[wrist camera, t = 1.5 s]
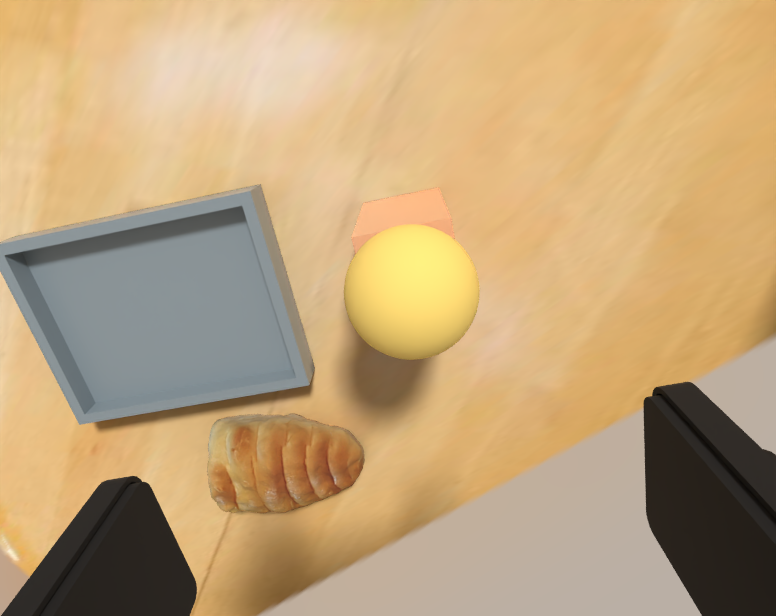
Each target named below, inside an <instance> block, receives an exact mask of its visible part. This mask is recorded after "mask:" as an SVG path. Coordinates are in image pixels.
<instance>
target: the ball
mask: <svg viewBox="0 0 776 616" xmlns="http://www.w3.org/2000/svg"><path fill="white" fill-rule="evenodd" d="M479 292H480V291H479V281H478V277H477V272H476V269H475V267H474V264H473V262H472V260H471V258H470V257H469V255H468V254H467V252H466V251H465V250H464V248H463V247H462V246H461V245H460V244H459V243H458V242H457V241H456V240H454V239H453V238H452V237H451V236H449V235H447V234H446V233H444V232H442V231H440V230H437V229H435V228H432V227H428V226H425V225H417V224H407V225H399V226H395V227H391V228H389V229H386V230H384V231H382V232H380V233H378V234H376V235H375V236H373V237H372V238H371V239H369V240H368V241H367V242H366V243H365V244H364V245H363V246H362V247H361V248H360V249H359V250H358V252H357V253H356V254H355V256H354V258H353V260H352V261H351V263H350V266H349V268H348V271H347V274H346V278H345V286H344V300H345V306H346V310H347V313H348V316H349V319H350V321H351V323H352V325H353V327H354V328H355V330H356V331H357V332H358V334H359V335H360V336H361V337H362V338H363V340H364V341H366V342H367V343H368V344H369V345H370V346H372V347H373V348H375V349H376V350H378V351H380V352H382V353H384V354H386V355H389V356H391V357H395V358H399V359H407V360H416V359H424V358H428V357H432V356H435V355H437V354H440V353H442V352H444V351H446V350H447V349H449V348H450V347H452V346H453V345H454V344H455V343H457V342H458V341H459V340H460V339H461V338H462V337H463V336H464V334H465V333H466V331H467V330H468V329H469V327H470V325H471V323H472V322H473V320H474V317H475V314H476V312H477V307H478V303H479Z"/></svg>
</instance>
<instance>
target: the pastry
mask: <svg viewBox="0 0 776 616" xmlns="http://www.w3.org/2000/svg"><path fill="white" fill-rule="evenodd" d="M208 451H209V460H208V466H207V472H208V482H209V488H210V492H211V497H212V498H213V500H215V501H216V502H217V505H218V506H219V507H220V508H221V509H222V510H223V511H225V512H231V513H235V512H237V511H248V512H257V513H266V512H270V511H273V512H278V513H282V512H287V511H289V510H293V509H296V508H299V507H303V506H307V505H309V504H311V503H312V502H314V501H319V500H323V499H324V498H326V497H328V496H330V495H333V494H337V493H339V492H340V491H341V490H343V489H345V488H347V487H350V486H352V485H353V484H354V482H355V480H356V479H357V478H358V476H359V474H360V472H361V470H362V468H363V464H364V451H363V448H362V446H361V445H360V443H359V442H358V441H357V439H356V438H355V437H354V436H353V435H352V434H351V433H350V432H349V431H348V430H346V429H343V428H341V427H338V426H329V425H325V424H322V423H319V422H317V421H313V420H309V419H306V418H305V417H303V416H300V415H297V414H289V415H286V416H283V415H261V414H254V415H239V416H233V417H226V418H223V419H219V420H217V421H216V422H215V423H214V424H213V426H212V428H211V432H210V437H209V443H208Z"/></svg>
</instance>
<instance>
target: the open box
mask: <svg viewBox="0 0 776 616" xmlns="http://www.w3.org/2000/svg"><path fill="white" fill-rule="evenodd" d="M407 224H417V225H425V226H428V227H432V228H435V229H437V230H440V231H442V232H444V233H446V234H447V235H449V236H451V237H452V238H453V239H454V240H455V238H454V232H453V226H452V219H451V216H450V213H449V211H448V209H447V206H446V204H445V201H444V199H443V196H442V194H441V192H440V189H439V188H434V189H429V190H424V191H419V192H414V193H410V194H405V195H400V196H395V197H390V198H385V199H380V200H375V201H370V202H366V203H363V205H362V208H361V211H360V214H359V217H358V220H357V223H356V226H355V228H354V231H353V234H352V237H351V238H352V242H353V246H354V250H355V254H356V253H357V252H358V250H359V249H360V248H361V247H362V246H363V245H364V244H365V243H366V242H367V241H368V240H369V239H371V238H372V237H373V236H375V235H376V234H378V233H380V232H382V231H384V230H386V229H389V228H391V227H395V226H399V225H407Z"/></svg>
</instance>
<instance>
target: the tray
mask: <svg viewBox="0 0 776 616" xmlns="http://www.w3.org/2000/svg"><path fill="white" fill-rule="evenodd" d="M0 272H1V273H2V275H3V277H4V279H5V281H6V283H7V285H8V287H9V289H10V291H11V293H12V295H13V297H14V299H15V301H16V303H17V304H18V306H19V308H20V310H21V312H22V314H23V316H24V318H25V320H26V322H27V324H28V326H29V328H30V330H31V332H32V334H33V335H34V337H35V339H36V341H37V343H38V345H39V347H40V349H41V351H42V353H43V355H44V357H45V359H46V361H47V363H48V365H49V367H50V368H51V370H52V372H53V374H54V376H55V378H56V380H57V382H58V384H59V386H60V388H61V390H62V392H63V394H64V396H65V398H66V399H67V401H68V403H69V405H70V407H71V409H72V411H73V413H74V415H75V417H76V419H77V421H78V423H79V425H80V424H86V423H92V422H98V421H104V420H109V419H115V418H121V417H127V416H133V415H139V414H145V413H150V412H156V411H162V410H168V409H174V408H180V407H185V406H191V405H197V404H203V403H209V402H215V401H221V400H226V399H232V398H238V397H244V396H250V395H256V394H261V393H267V392H273V391H279V390H285V389H291V388H297V387H302V386H308V385H310V382H311V379H312V375H313V372H314V369H315V367H314V363H313V360H312V357H311V353H310V350H309V346H308V343H307V340H306V336H305V333H304V330H303V326H302V323H301V319H300V316H299V313H298V309H297V306H296V303H295V299H294V296H293V292H292V289H291V286H290V282H289V279H288V276H287V272H286V269H285V265H284V262H283V259H282V255H281V252H280V249H279V245H278V242H277V238H276V235H275V232H274V228H273V225H272V222H271V218H270V215H269V211H268V208H267V205H266V201H265V198H264V194H263V191H262V188H261V184H260V185H255V186H250V187H246V188H241V189H236V190H231V191H227V192H222V193H217V194H213V195H208V196H203V197H198V198H194V199H189V200H184V201H180V202H175V203H170V204H165V205H161V206H156V207H151V208H147V209H142V210H137V211H133V212H128V213H123V214H118V215H114V216H109V217H104V218H100V219H95V220H90V221H85V222H81V223H76V224H71V225H67V226H62V227H57V228H53V229H48V230H43V231H38V232H34V233H29V234H24V235H20V236H15V237H12V238H9V239H7V240H4V241H1V242H0Z"/></svg>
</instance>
